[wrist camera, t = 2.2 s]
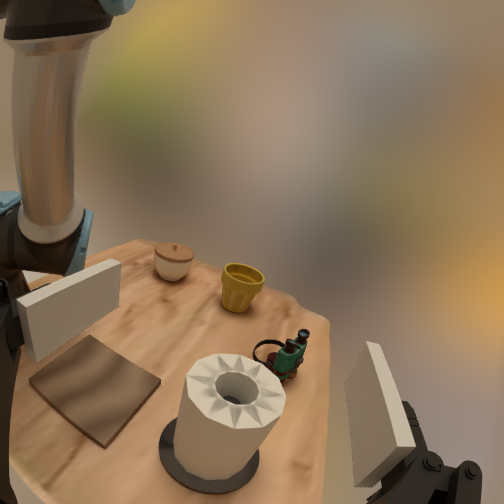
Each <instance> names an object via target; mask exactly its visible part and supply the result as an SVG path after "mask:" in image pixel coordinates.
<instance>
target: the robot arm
mask: <svg viewBox="0 0 504 504" xmlns="http://www.w3.org/2000/svg"><path fill="white" fill-rule="evenodd" d="M135 2H136V0H0V19H3V18H7V20H6V25H5V31H4V38H3V41H4V42H6V43H7V44H8V45H9V46H10V47H11V48H12V49H13V50H14V52H15V53H14V62H13V74H12V75H13V76H12V98H11V99H12V100H11V102H12V103H11V106H12V107H11V110H12V134H13V147H14V156H15V164H16V171H17V178H18V184H19V189H20V193H19V192H16V191H2V192H0V504H18V503H17V499H16V496H15V493H14V491H13V489H12V487H11V484H10V478H9V431H10V418H11V408H12V400H13V393H14V386H15V380H16V375H17V369H18V365H19V360H20V355H21V348H20V346H21V345H23V344H25V347H26V351H27V354H28V355H29V356H30V357H31V358H32V359H33V360H34V361H36V362H37V363H38V362H39V361H41V360H42V359H43V358H45V357H46V356H48V355H49V354H50V353H52V352H53V351H55V350H56V349H58V348H59V347H60V346H62V345H63V344H65V343H66V342H68V341H69V340H70V339H72V338H73V337H75V336H76V335H78V334H79V333H81V332H82V331H84V330H85V329H86V328H88V327H89V326H91V325H92V324H94V323H95V322H97V321H98V320H100V319H101V318H103V317H104V316H106V315H107V314H109V313H110V312H112V311H113V310H115V309H116V308H118V307H119V290H120V275H121V262H119V261H116V260H114V259H108V260H106V261H103V262H101V263H98V264H96V265H94V266H91V267H89V268H86V269H84V266H85V260H86V253H87V247H88V241H89V236H90V230H91V225H92V220H93V212H92V211H89V210H88V209H84V208H83V202H82V200H81V198H80V196H79V195H78V193H77V192H75V191H74V156H75V139H76V138H75V137H76V127H77V117H78V109H79V101H80V95H81V89H82V83H83V77H84V72H85V67H86V63H87V58H88V54H89V49H90V46H91V43H92V41H93V40H95V39H96V38H97V37H99V36H100V35H101V34H103V33H104V32H106V31H107V30H108V29H109V28H110V25H111V22H112V19H113V16H118V15H123V14H126V13H127V12H129V11H130V9H131V8H132V7H133V5H134V4H135ZM20 195H21V196H20ZM21 200H22V203H21V202H20V201H21ZM22 270H26V271H33V272H40V273H48V274H55V275H62V276H63V277H65V278H63V279H60V280H58V281H56V282H53V283H49V284H45V285H43V286H41V287H39V288H36V289H34V290H32V291H31V290H30V288H29V286H28V283H27V281H26V279H25V277H24V274H23V272H22ZM66 276H67V277H66ZM344 386H345V394H346V402H347V410H348V418H349V428H350V437H351V448H352V460H353V475H354V487H373V486H374V485H375V484H377V483H378V482H379V481H380V480H381V484H382V488H381V489H379V490H378V491H377V492H375V493H374V494H373V495H372V496H370V497H369V498H368V499H367V501H368V502H367V504H480V502H481V489H482V472H481V469H480V467H479V466H478V465H477V464H476V463H475V462H473V461H468V460H467V461H464V462H463V463H462V464H461V465H460V466H458V467H457V468H453V467H448V466H444V464H443V461H442V459H441V458H440V457H439V456H438V455H437V454H436V453H434V452H431V451H428V449H427V446H426V443H425V440H424V437H423V434H422V431H421V429H420V427H419V423H418V420H417V417H416V414H415V412H414V409H413V408H412V407H411V406H410V404H409V403H408V402H407V401H401V399H400V396H399V394H398V391H397V388H396V385H395V383H394V380H393V377H392V375H391V372H390V370H389V368H388V364H387V362H386V359H385V357H384V354H383V352H382V349H381V347H380V345H379V344H376V343H371V342H367V341H366V343H365V345H364V347H363V349H362V351H361V352H360V354H359V356H358V358H357V360H356V362H355V364H354V366H353V368H352V369H351V371H350V373H349V375H348V377H347V379H346V380H345V382H344Z"/></svg>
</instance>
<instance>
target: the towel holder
mask: <svg viewBox="0 0 504 504" xmlns="http://www.w3.org/2000/svg"><path fill="white" fill-rule="evenodd" d="M222 398H223V399H224V400H226V401H228V402H231V403H233V404H236V405H241V403H240V401H239V400H238V399H236V398H235V397H232V396H224V397H222ZM177 418H178V417H177ZM177 418H175V419H174V420H172V421H171V422H170V423H169V424H168V425H167V426H166V427H165V428H164V430H163V432H162V434H161V437H160V441H159V454H160V458H161V461H162V463H163V466H164V467H165V469H166V470H167V472H168V473H169V474H170V475H171V476H172V477H173V478H174V479H175V480H176V481H177V482H179V483H180V484H182V485H183V486H185V487H187V488H189V489H191V490H194V491H197V492H201V493H206V494H223V493H228V492H232V491H234V490H237V489H239V488H240V487H242V486H244V485H245V484H246V483H247V482H248V481H249V480H250V479H251V478H252V477H253V476H254V474H255V473H256V470H257V468H258V465H259V450H258V449H257V450H256V452H255V453H254V454H253V456H252V457H251V458H250V460H249V461H248V462H247V464H246V465H245V466H244V467H243V469H242V470H241V471H239V472H238V473H236V474H234V475H233V476H231V477H230V478H228V479H222V480H205V479H203V478H200V477H198V476H195V475H193V474H191V473H189V472H187V471H186V470H185V469H184V468H183V466H182V465H181V464H180V463H179V461H178V460H177V459H176V458H175V454H174V444H173V439H174V434H175V428H176V423H177Z"/></svg>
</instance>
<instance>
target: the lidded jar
mask: <svg viewBox="0 0 504 504" xmlns="http://www.w3.org/2000/svg"><path fill="white" fill-rule="evenodd" d="M193 257H194V253H193V251H192V250H191V249H189V248H188V247H186V246H183V245H180V244H177V243H170V242H166V243H160V244H157V245H156V247H155V254H154V265H155V268H156V270H157V272H158V273H159V275H160V277H161V278H163V279H165V280H168V281H177V280H179V279H180V278H182V277H183V276H185V275H186V274H187V272H188V271H189V269H190V267H191V263H192V259H193Z"/></svg>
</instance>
